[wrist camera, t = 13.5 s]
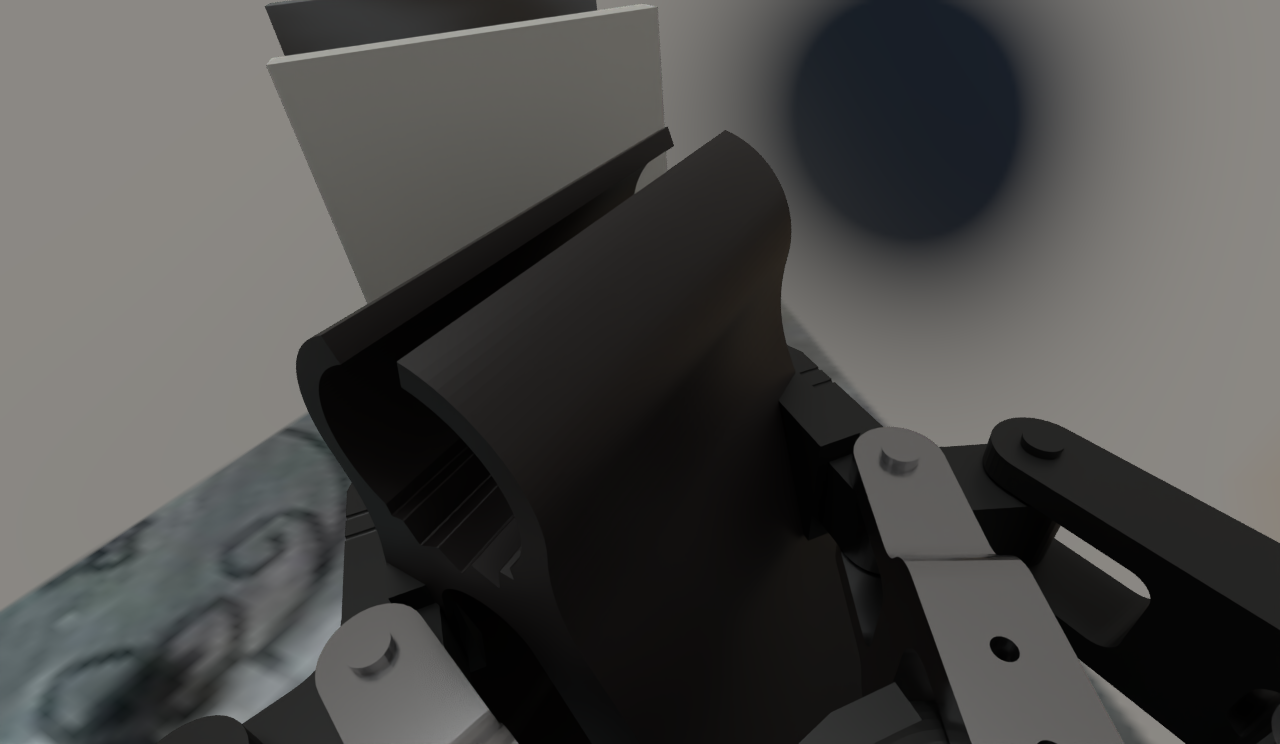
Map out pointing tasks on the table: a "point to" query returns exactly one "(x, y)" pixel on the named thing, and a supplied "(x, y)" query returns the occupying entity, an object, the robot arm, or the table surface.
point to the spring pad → (467, 128)
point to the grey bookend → (398, 19)
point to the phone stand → (603, 458)
